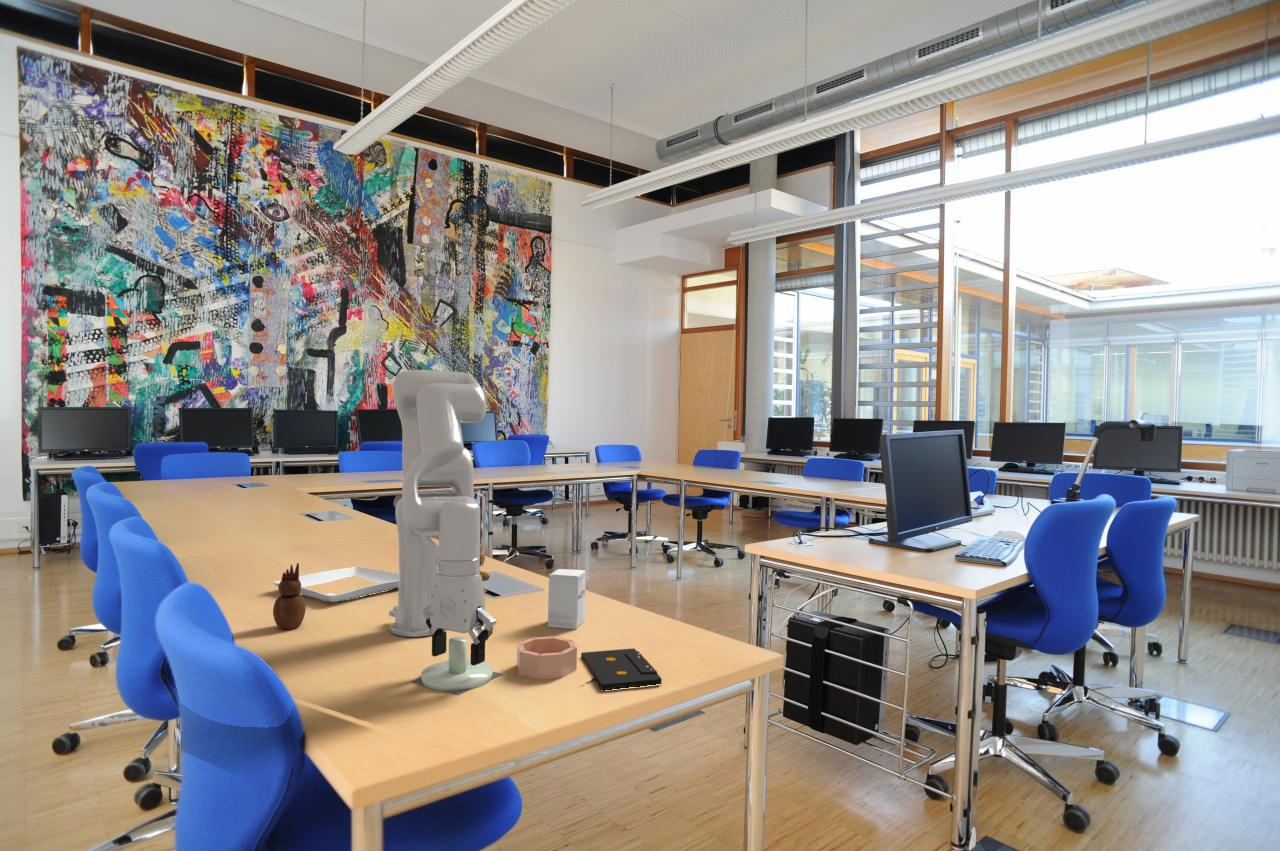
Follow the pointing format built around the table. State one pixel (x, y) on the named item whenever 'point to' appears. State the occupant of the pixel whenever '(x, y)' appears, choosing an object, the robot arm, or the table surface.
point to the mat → (418, 681)
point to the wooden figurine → (289, 601)
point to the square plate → (374, 575)
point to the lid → (456, 670)
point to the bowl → (546, 657)
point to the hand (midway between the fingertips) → (458, 658)
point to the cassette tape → (620, 669)
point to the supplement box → (566, 598)
